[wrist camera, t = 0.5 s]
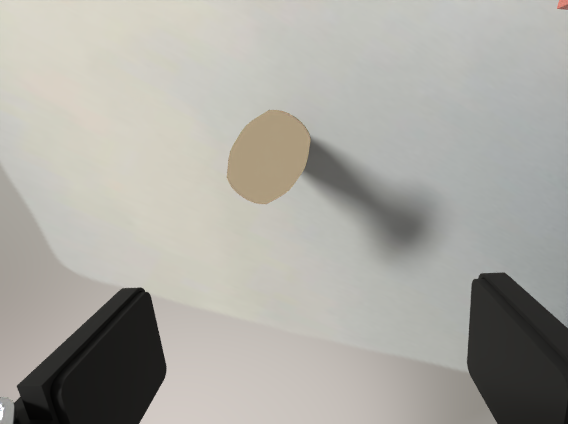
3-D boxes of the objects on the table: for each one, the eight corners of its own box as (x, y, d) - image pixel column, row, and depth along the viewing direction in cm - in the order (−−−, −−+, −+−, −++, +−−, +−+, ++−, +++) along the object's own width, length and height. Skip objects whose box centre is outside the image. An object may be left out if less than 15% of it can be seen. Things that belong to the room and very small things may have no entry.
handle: (322, 127, 37) (325, 138, 23) (288, 176, 39) (271, 216, 25) (284, 100, 37) (263, 95, 22) (252, 151, 39) (213, 177, 24)
